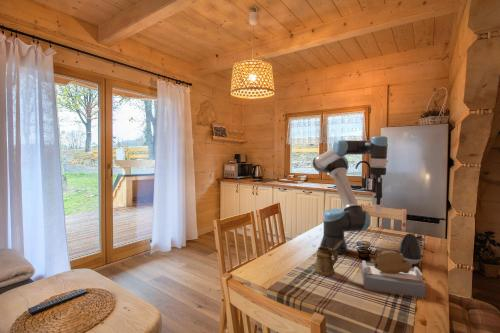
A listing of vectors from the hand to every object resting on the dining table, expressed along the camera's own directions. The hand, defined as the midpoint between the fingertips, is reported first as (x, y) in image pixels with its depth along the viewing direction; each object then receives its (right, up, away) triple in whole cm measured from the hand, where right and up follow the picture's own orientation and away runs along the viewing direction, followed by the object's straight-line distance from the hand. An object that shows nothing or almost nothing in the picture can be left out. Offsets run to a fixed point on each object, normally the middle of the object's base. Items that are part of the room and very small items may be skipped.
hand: (376, 207), depth 135 cm
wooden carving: (-4, -25, -21) cm, 33 cm away
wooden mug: (-28, -30, -11) cm, 42 cm away
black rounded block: (+18, -29, +1) cm, 34 cm away
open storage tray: (-4, -30, -21) cm, 37 cm away
